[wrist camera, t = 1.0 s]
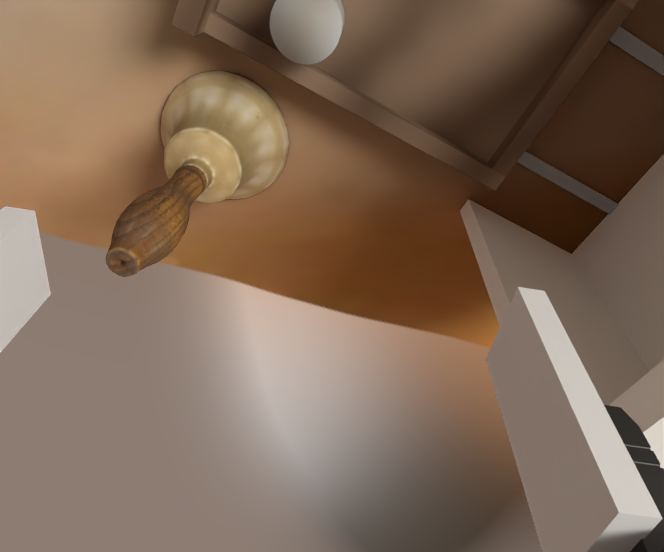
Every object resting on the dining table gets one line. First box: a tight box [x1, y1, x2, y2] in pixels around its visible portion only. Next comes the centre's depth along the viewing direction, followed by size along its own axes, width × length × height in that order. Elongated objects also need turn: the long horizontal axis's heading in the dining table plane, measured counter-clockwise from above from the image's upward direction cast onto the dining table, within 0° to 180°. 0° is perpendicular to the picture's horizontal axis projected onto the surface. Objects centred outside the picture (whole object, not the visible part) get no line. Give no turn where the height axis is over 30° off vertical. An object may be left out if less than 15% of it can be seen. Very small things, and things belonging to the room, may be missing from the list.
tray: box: [171, 0, 639, 190], centre depth 26 cm, size 20×12×5 cm, turn 63°
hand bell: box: [106, 71, 289, 277], centre depth 26 cm, size 8×8×16 cm
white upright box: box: [460, 27, 664, 469], centre depth 20 cm, size 29×18×22 cm, turn 63°
